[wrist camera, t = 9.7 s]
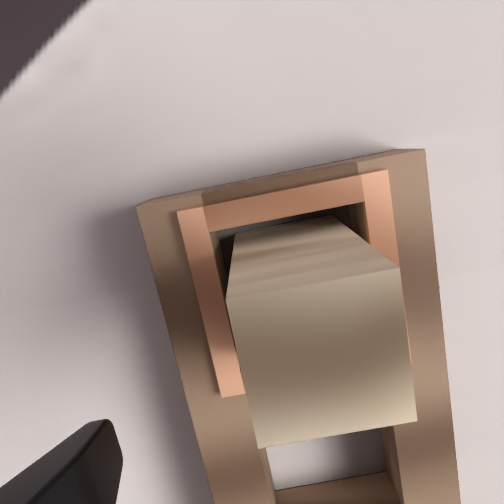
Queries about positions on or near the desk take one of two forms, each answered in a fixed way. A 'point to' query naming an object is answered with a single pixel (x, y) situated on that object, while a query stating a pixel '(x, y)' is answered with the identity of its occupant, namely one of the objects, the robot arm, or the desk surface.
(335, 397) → the maple peg
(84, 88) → the desk surface
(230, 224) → the walnut hole board
